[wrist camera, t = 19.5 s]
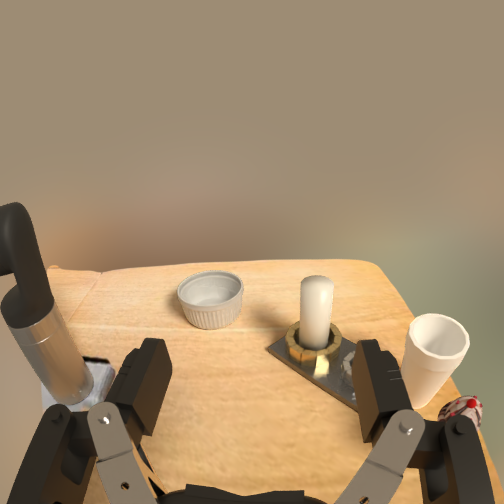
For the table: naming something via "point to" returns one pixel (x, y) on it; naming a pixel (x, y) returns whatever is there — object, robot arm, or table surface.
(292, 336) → the grey ring holder base
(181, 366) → the table surface
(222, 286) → the ramekin
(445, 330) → the foam cup
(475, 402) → the ice cream cone
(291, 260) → the table surface
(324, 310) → the white rounded cylinder
